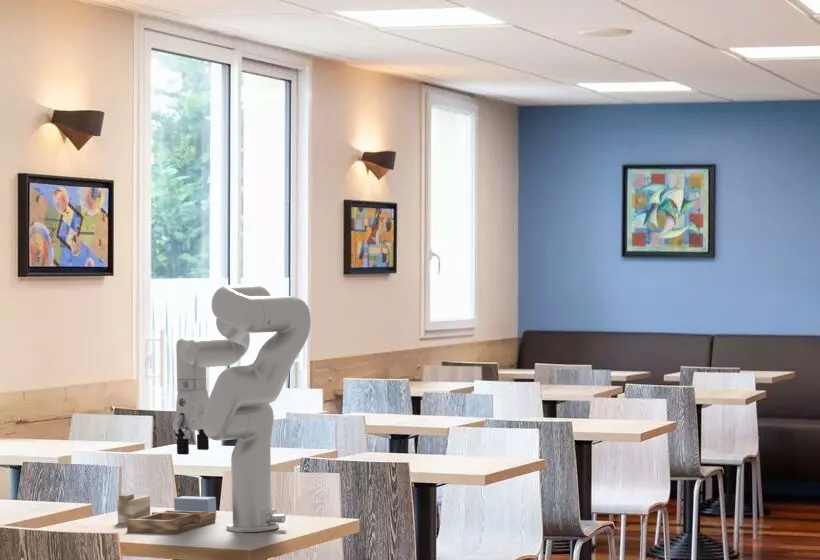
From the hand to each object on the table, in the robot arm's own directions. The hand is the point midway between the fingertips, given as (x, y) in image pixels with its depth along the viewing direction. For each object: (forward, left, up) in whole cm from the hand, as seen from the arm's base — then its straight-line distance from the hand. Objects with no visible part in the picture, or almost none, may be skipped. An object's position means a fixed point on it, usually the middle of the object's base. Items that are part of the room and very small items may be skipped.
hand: (193, 451), depth 371 cm
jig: (-3, +16, -17) cm, 23 cm away
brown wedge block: (+12, +10, -17) cm, 23 cm away
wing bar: (0, 0, -17) cm, 17 cm away
